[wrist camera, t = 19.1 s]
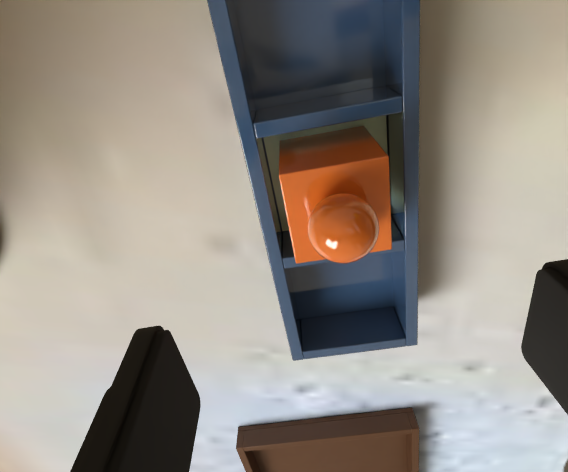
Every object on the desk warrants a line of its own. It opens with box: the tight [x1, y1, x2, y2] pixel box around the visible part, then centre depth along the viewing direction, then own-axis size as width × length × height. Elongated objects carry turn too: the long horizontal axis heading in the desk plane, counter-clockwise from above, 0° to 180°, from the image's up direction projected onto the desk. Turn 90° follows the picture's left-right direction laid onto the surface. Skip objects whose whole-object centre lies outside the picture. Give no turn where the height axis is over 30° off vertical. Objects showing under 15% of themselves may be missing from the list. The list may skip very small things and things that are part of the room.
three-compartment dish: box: [207, 0, 420, 361], centre depth 19 cm, size 8×22×4 cm, turn 10°
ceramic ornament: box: [279, 126, 392, 264], centre depth 17 cm, size 4×4×8 cm
